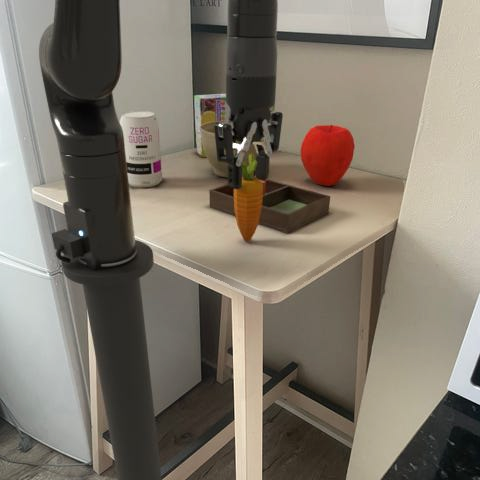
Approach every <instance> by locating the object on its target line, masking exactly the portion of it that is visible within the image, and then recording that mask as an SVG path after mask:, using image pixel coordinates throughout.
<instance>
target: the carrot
mask: <svg viewBox="0 0 480 480" xmlns="http://www.w3.org/2000/svg"><path fill="white" fill-rule="evenodd" d="M240 166H241V165H240ZM242 166H243V167H242V174H243V177H242V187H241V188H240V189H234V210H235V215H234V216H235V220H236V225H237V228H238V230H239V233H240V235H241V237H242V239H243V240H244V242H245V243H249V242H250V241H251V240H252V238H253V236H254V235H255V233H256V231H257V229H258V226H259V224H258V222H259V219H260V214H261V209H262V198H263V184H262V182H261V181H260V180H259V179H258V178H255V177H253V175H254V174H255V173H254V172H255V171H256V166H257V161H255V156H254V155H252V154H250V155H249V166H248V167H247V165H246V163H245V162H243V163H242Z"/></svg>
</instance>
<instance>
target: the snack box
mask: <svg viewBox="0 0 480 480" xmlns="http://www.w3.org/2000/svg"><path fill="white" fill-rule="evenodd" d="M193 101H194V124H195V146H196V154H198V155H199V156H200V157H201V158H207V157H206V155H205V152H204V149H203V146H202V140H201V132H200V126H201V125H202V124H204V123H208V122H213V121H225V120H228V119H229V116H230V107H229V106H228V105H227V103H226V93H215V94H196V95H193ZM275 110H276V103H275V104H274V106H272V107H270V111H275ZM273 138H274V136H273V134H271V142H273Z"/></svg>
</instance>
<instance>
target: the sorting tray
mask: <svg viewBox="0 0 480 480" xmlns="http://www.w3.org/2000/svg"><path fill="white" fill-rule="evenodd" d="M253 177H255V178H256V175H255V174H253ZM258 179H259V178H258ZM259 180H262V179H259ZM262 181H266V194H264V195H263V198H262V209H261V214H260V219H259V222H258V225H261V226H263V227H267V228H269V229H273V230H276V231H279V232H282V233H284V234H290V233H291V232H293V231H295V230H298V229H300V228H302V227H304V226H306V225H307V224H309V223H312V222H314V221H316V220H318V219H320V218H322V217H324V216H326V215H328V214H329V213H330V205H331V204H330V203H331V195H328V194H324V193H320V192H317V191H313V190H309V189H307V188H302V187H298V186H295V185H291V184H287V183H283V182H281V181H280V182H279V181H276V180H272V179H269V178H267V179H265V180H262ZM208 193H209V208H211V209H214V210H217V211H220V212H223V213H225V214H229V215H232V216H235V210H234V188H231V187H230V186H229V185H228V183H226V184H223V185H220V186H218V187H214V188H212V189H209V192H208Z"/></svg>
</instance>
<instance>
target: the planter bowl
mask: <svg viewBox="0 0 480 480" xmlns="http://www.w3.org/2000/svg"><path fill="white" fill-rule="evenodd" d="M226 121H228V120H225V121H213V122H208V123H204V124H202V125H201V126H200V132H201V140H202V146H203V149H204V152H205V155H206V157H205V158H206V159H207V161H208V162H209V164H210V165H211V167H212V169H213V173H214V174H215V175H216V176H217V177H218V176H219V177H222V178H227V179H228V166H227V164H226V163H223V162H219V161H218V160H217V151H216V140H215V130H214V125H215V123H216V122H220V123H223V122H226ZM236 144H239V145H240V144H242V143H238V141H237V140H236ZM237 152H238V150H236V151H235V153H234V157H236V155H237ZM250 154H252V155H254V156H255V161H256V155H259V154H257V152H256V149H255V146H254V144H253V143H252V144H250V146H249V149H248V151H247V152H246V153H245V154H244V157H243V160H242V163H243V162H245V163H246V165H247V167H248V166H249V155H250ZM224 155H226V150H225V149H224ZM242 163H241V166H242ZM242 167H243V166H242ZM242 177H243V174H242Z"/></svg>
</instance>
